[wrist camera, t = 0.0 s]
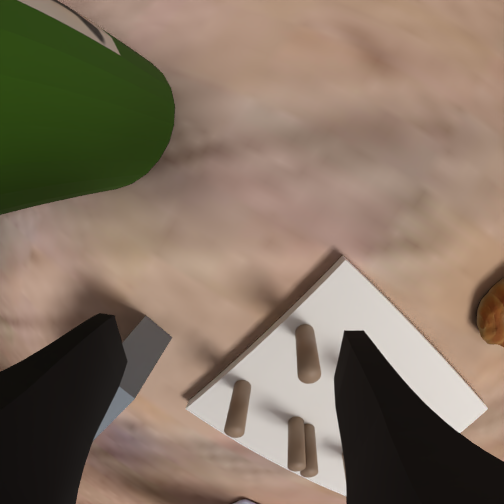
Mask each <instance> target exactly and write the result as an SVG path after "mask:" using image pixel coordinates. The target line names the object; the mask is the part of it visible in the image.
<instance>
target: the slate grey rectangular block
mask: <svg viewBox="0 0 504 504" xmlns="http://www.w3.org/2000/svg"><path fill="white" fill-rule="evenodd" d="M171 339H172V337H171V336H170V335H169V334H168V333H166V332H165V331H164V330H163V329H162V328H160V327H159V326H158V325H157V324H156V323H154V322H153V321H152V320H151V319H150V318H148V317H147V316H145V317H144V318H143V319H142V320H141V322H140V323H139V324H138V325H137V326H136V327H135V329H134V330H133V331H132V332H131V333H130V334H129V336H128V337H127V338H126V339H125V340H124V341H123V343H122V344H123V348H124V351H125V354H126V358H127V361H128V362H127V365H126V368H125V371H124V375H123V377H122V380H121V383H120V386H119V388H118V390H117V392H116V394H115V396H114V398H113V400H112V402H111V404H110V406H109V408H108V410H107V412H106V414H105V416H104V418H103V420H102V422H101V425H100V427H99V429H98V431H97V433H96V435H95V437H94V439H95V438H96V437H97V436H98V435H99V434H100V433H101V432H102V431H103V430H104V429H105V428H106V427H107V426H108V425H109V424H110V423H111V422H112V421H113V420H114V419H115V418H116V417H117V416H118V415H119V414H120V413H121V412H122V411H123V410H124V409H125V408H126V407H127V406H128V405H129V404H130V403H131V402H132V401H133V400H134V399H135V398H136V396H137V394H138V393H139V391H140V389H141V388H142V386H143V384H144V383H145V381H146V379H147V378H148V376H149V374H150V373H151V371H152V370H153V368H154V366H155V365H156V363H157V361H158V360H159V358H160V356H161V355H162V353H163V352H164V350H165V348H166V347H167V345H168V343H169V342H170V340H171ZM94 439H93V440H94Z"/></svg>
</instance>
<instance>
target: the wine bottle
mask: <svg viewBox="0 0 504 504" xmlns="http://www.w3.org/2000/svg"><path fill="white" fill-rule="evenodd" d="M174 113H175V105H174V100H173V95H172V91H171V87H170V86H169V84H168V82H167V80H166V78H165V77H164V75H163V73H162V72H161V71H159V70H158V69H157V68H156V67H155V66H154V65H153V64H152V63H151V62H149V61H148V60H146V59H145V58H144V57H142V56H141V55H139V54H138V53H136V52H135V51H134V50H132V49H131V48H129V47H128V46H126V45H125V44H123V43H122V42H121V41H119V40H118V39H116V38H115V37H113V36H112V35H110V34H109V33H107V32H106V31H104V30H103V29H101V28H100V27H99V26H97V25H96V24H94V23H93V22H91V21H90V20H88V19H87V18H85V17H83V16H82V15H80V14H79V13H77V12H75V11H74V10H72V9H70V8H69V7H67V6H65V5H64V4H62V3H60V2H59V1H57V0H0V215H1V214H5V213H9V212H13V211H17V210H21V209H25V208H29V207H33V206H37V205H41V204H46V203H50V202H54V201H59V200H64V199H68V198H73V197H78V196H83V195H87V194H93V193H98V192H103V191H108V190H114V189H118V188H121V187H124V186H127V185H130V184H132V183H134V182H135V181H137V180H138V179H140V178H141V177H143V176H144V175H146V174H147V173H148V172H149V170H150V169H151V168H152V167H153V166H154V165H155V164H156V163H157V162H158V161H159V159H160V158H161V156H162V154H163V152H164V150H165V149H166V147H167V145H168V143H169V140H170V137H171V134H172V130H173V127H174Z"/></svg>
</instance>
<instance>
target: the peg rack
mask: <svg viewBox="0 0 504 504" xmlns="http://www.w3.org/2000/svg"><path fill="white" fill-rule="evenodd" d="M344 330H348V331H355V330H364V331H365V333H366V334H367V335H368V336H369V338H370V339H371V340H372V341H373V343H374V344H375V345H376V347H377V348H378V349H379V351H380V352H381V353H382V354H383V356H384V357H385V358H386V359H387V361H388V362H389V363H390V364H391V366H392V367H393V368H394V369H395V370H396V372H397V373H398V374H399V375H400V376H401V378H402V379H403V380H404V381H405V382H406V383H407V385H408V386H409V387H410V388H411V389H412V390H413V391H414V392H415V393H416V394H417V395H418V396H419V397H420V399H421V400H422V401H423V402H424V403H425V404H426V405H427V406H429V407H430V408H431V409H432V410H433V411H434V412H435V413H436V414H437V415H438V416H440V417H441V418H442V419H443V420H444V421H445V422H446V423H447V424H449V425H450V426H451V427H452V428H454V429H455V430H456V431H457V432H459V433H461V432H462V431H463V430H464V429H465V428H467V427H468V426H469V425H470V424H471V423H473V422H474V421H475V420H476V419H477V418H478V417H479V416H481V415H482V414H483V413H484V412H485V411H486V410H487V409H488V408H487V406H486V405H485V404H484V402H483V401H482V400H481V399H480V397H479V396H478V395H477V394H476V393H475V392H474V391H473V389H472V388H471V387H470V386H469V385H468V384H467V383H466V381H465V380H464V379H463V378H462V377H461V376H460V375H459V374H458V373H457V371H456V370H455V369H454V368H453V367H452V366H451V365H450V364H449V363H448V361H447V360H446V359H445V358H444V357H443V356H442V355H441V354H440V353H439V352H438V351H437V350H436V348H435V347H434V346H433V345H432V344H431V343H430V342H429V341H428V340H427V339H426V338H425V337H424V336H423V335H422V334H421V333H420V332H419V330H418V329H417V328H416V327H415V326H414V325H413V324H412V323H411V322H410V321H409V320H408V319H407V318H406V317H405V316H404V315H403V314H402V313H401V312H400V311H399V310H398V309H397V308H396V307H395V306H394V305H393V304H392V303H391V302H390V301H389V300H388V299H387V298H386V297H385V296H384V295H383V294H382V293H381V292H380V291H379V290H378V289H377V288H376V287H375V286H374V285H373V284H372V283H371V282H370V281H369V280H368V279H367V278H366V277H365V276H364V275H363V274H362V273H361V272H360V271H359V270H358V269H357V268H356V267H355V266H354V265H353V264H352V263H351V262H350V261H349V260H347V259H346V258H345V257H344V256H343V255H342V256H341V257H340V258H339V259H338V261H337V262H336V263H335V264H334V265H333V266H332V267H331V268H330V269H329V270H328V271H327V272H326V273H325V274H324V275H323V276H322V277H321V278H320V279H319V280H318V281H317V282H316V283H315V284H314V285H313V286H312V287H311V288H310V289H309V290H308V291H307V292H306V293H305V294H304V295H303V296H302V297H301V298H300V299H299V300H298V301H297V302H296V303H295V304H294V305H293V306H292V307H291V308H290V309H289V310H288V311H287V312H286V313H285V314H284V315H283V316H282V317H281V318H279V319H278V320H277V321H276V322H275V323H274V324H273V325H272V326H271V327H270V328H269V329H268V330H267V331H266V332H265V333H264V334H263V335H262V336H261V337H259V338H258V339H257V340H256V341H255V342H254V343H253V344H252V345H251V346H250V347H249V348H248V349H247V350H245V351H244V352H243V353H242V354H241V355H240V356H239V357H238V358H237V359H236V360H235V361H233V362H232V363H231V364H230V365H229V366H228V367H227V368H226V369H225V370H223V371H222V372H221V373H220V374H219V375H218V376H217V377H216V378H214V379H213V380H212V381H211V382H210V383H209V384H208V385H206V386H205V387H204V388H203V389H202V390H201V391H200V392H198V393H197V394H196V395H195V396H194V397H193V398H191V399H190V400H189V401H188V404H187V407H186V410H188V411H189V412H191V413H192V414H194V415H195V416H197V417H198V418H200V419H201V420H203V421H204V422H206V423H207V424H209V425H210V426H212V427H214V428H215V429H217V430H218V431H220V432H222V433H223V434H225V435H226V436H228V437H230V438H231V439H233V440H235V441H236V442H238V443H240V444H241V445H243V446H245V447H247V448H248V449H250V450H252V451H254V452H255V453H257V454H259V455H261V456H263V457H264V458H266V459H268V460H270V461H272V462H274V463H276V464H277V465H279V466H281V467H283V468H285V469H287V470H289V471H291V472H293V473H295V474H297V475H299V476H301V477H304V478H306V479H308V480H310V481H312V482H314V483H316V484H319V485H321V486H323V487H325V488H328V489H330V490H332V491H335V492H337V493H339V494H342V495H344V496H346V471H345V463H344V456H343V450H342V444H341V438H340V432H339V426H338V420H337V414H336V408H335V394H334V375H335V370H336V366H337V362H338V357H339V353H340V348H341V343H342V338H343V334H344Z"/></svg>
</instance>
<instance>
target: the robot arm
mask: <svg viewBox="0 0 504 504" xmlns="http://www.w3.org/2000/svg"><path fill="white" fill-rule="evenodd" d="M127 362H128V361H127V358H126V354H125V351H124V348H123V344H122V341H121V338H120V334H119V331H118V327H117V323H116V320H115V316H114V315H107V314H100V313H99V314H97V315H95V316H93V317H92V318H90V319H88V320H87V321H85V322H83V323H82V324H80V325H79V326H77V327H75V328H74V329H72V330H71V331H69V332H68V333H66V334H65V335H63V336H62V337H60V338H59V339H57V340H55V341H54V342H52V343H51V344H49V345H48V346H46V347H44V348H43V349H41V350H39V351H38V352H36V353H34V354H33V355H31V356H29V357H28V358H26V359H24V360H23V361H21V362H19V363H17V364H15V365H13V366H11V367H9V368H7V369H5V370H3V371H1V372H0V504H76V499H77V493H78V488H79V484H80V480H81V476H82V473H83V469H84V465H85V462H86V459H87V456H88V453H89V450H90V447H91V444H92V442H93V439H94V437H95V435H96V433H97V431H98V429H99V427H100V425H101V422H102V420H103V418H104V416H105V414H106V412H107V410H108V408H109V406H110V404H111V402H112V400H113V398H114V396H115V394H116V392H117V390H118V388H119V386H120V383H121V380H122V377H123V375H124V371H125V368H126V365H127ZM334 394H335V408H336V414H337V420H338V426H339V432H340V438H341V444H342V450H343V456H344V463H345V471H346V498H347V504H504V462H503V461H501V460H500V459H498V458H496V457H495V456H493V455H491V454H489V453H488V452H486V451H484V450H483V449H481V448H480V447H478V446H477V445H475V444H474V443H472V442H471V441H470V440H468V439H467V438H466V437H464V436H463V435H461V434H460V433H459V432H457V431H456V430H455V429H454V428H452V427H451V426H450V425H449V424H447V423H446V422H445V421H444V420H443V419H442V418H441V417H440V416H438V415H437V414H436V413H435V412H434V411H433V410H432V409H431V408H430V407H429V406H427V405H426V404H425V403H424V402H423V401H422V400H421V399H420V397H419V396H418V395H417V394H416V393H415V392H414V391H413V390H412V389H411V388H410V387H409V386H408V385H407V383H406V382H405V381H404V380H403V379H402V378H401V376H400V375H399V374H398V373H397V372H396V370H395V369H394V368H393V367H392V366H391V364H390V363H389V362H388V361H387V359H386V358H385V357H384V356H383V354H382V353H381V352H380V351H379V349H378V348H377V347H376V345H375V344H374V343H373V341H372V340H371V339H370V338H369V336H368V335H367V334H366V333H365V331H364V330H355V331H348V330H344V334H343V338H342V343H341V348H340V353H339V357H338V362H337V366H336V370H335V375H334ZM233 504H256V503H254V502H251V501H249V500H246V499H243V500H240V501H238V502H236V503H233Z"/></svg>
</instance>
